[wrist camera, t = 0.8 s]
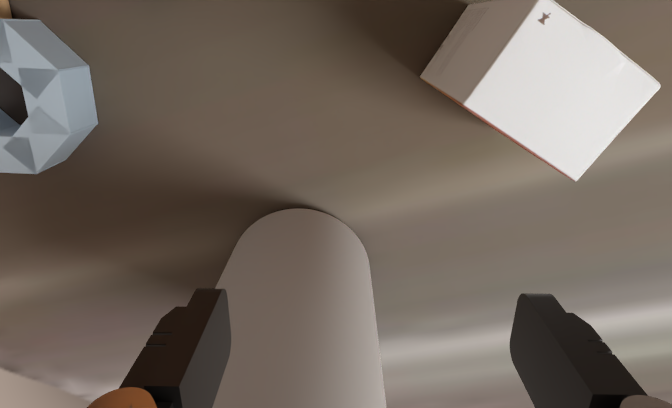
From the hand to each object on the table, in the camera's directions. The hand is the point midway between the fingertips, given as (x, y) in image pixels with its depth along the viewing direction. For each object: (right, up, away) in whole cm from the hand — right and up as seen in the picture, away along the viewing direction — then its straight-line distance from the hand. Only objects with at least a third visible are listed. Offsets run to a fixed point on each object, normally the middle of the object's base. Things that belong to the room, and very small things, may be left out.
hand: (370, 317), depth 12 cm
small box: (+10, +14, +22) cm, 28 cm away
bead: (-26, +12, +23) cm, 36 cm away
